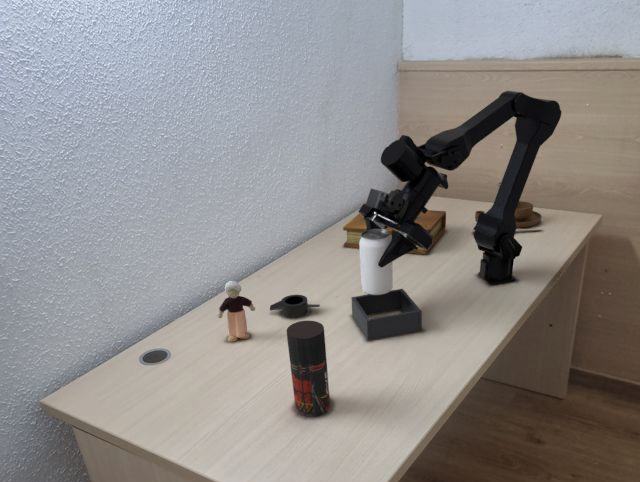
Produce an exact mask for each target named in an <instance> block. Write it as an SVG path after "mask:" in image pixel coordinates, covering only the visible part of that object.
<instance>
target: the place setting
mask: <svg viewBox="0 0 640 482" xmlns="http://www.w3.org/2000/svg"><path fill="white" fill-rule="evenodd" d="M481 212H483V213H486V212H485V211H484V210H476V211H475V212H474V220H475V222H476V223H477V220H478V216H479V214H480V213H481ZM541 220H542V214H541V213H539V212H538V211H535V210H534V204H533V203H532V202H529V201H524V200H523V201H522V200H519V203H518V205H517V208H516V210H515V221H516V228H518V229H519V228H520V229H521V228H529V227H534V226H535V225H537V224H539V223H540V222H541ZM541 231H542V230H541V229H529V230H516V231H515V234H516V233H519V232H522V233H523V232H541ZM474 232H475V230H474V231H473V232H472V234H474Z"/></svg>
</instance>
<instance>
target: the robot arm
mask: <svg viewBox="0 0 640 482" xmlns="http://www.w3.org/2000/svg"><path fill="white" fill-rule="evenodd" d="M561 117H562V110H561V106H560V104H559V102H558V101H557V100H553V99H547V98H546V99H545V98H539V97H532V96H530V95H528V94H525V93H524V92H522V91H513V90H506V91H503V92H502V93H500V94H499V96H498V97H497V98H496V99H495V100H493V101H492V102H490V103H489V104H487V105H486V106H485V107H483V108H482V109H481V110H480V111H478V112H477V113H476V114H474V115H473V116H471V117H469V119H467V120H466V121H464V122H463V123H461V124H460V125H459V126H457V127H454V128H450V129H446V130H444V131H440V132H439V133H437V134H435V135H433V136H430V137H429V138H428V139H427V140H426V142H425V143H423V144H420V145H416V143H415V142H414V140H413V139H412V138H411V136H409V135H406V134H402V135H401V136H400V137H399V138H398V139H396V140H394V141H392V142H391V143H390V144H389V145H388V146H386V147H385V148H384V149H383V151H382V152H381V155H380V163H381V164H382V166H383V167H384V168H386V169H387V170H388V171H389V172H390V173H391V174H392V175H393V176H394V177H395V178H396V179H397V180H398V181H400V182H401V183H405V184H404V185H403V186H402V188H401V189H398V188H396V189H394V190H390V192H386V191H382V190H379V189H375V188H370V190H369V192H368V195H367V199H366V202H365V203H363V204H362V205H361V207H360V208H359V210H358V214H359V213H360V214H361V215H362V216H364V220H365V222H366V227H367V230H371V229H383V230H384V229H386V228H388V227H389V228H392V229H394V230H392V240H391V242H390V244H389V245H388V247H387V249H386V250H385V252H384V254H383V255H382V257H381V259H380V261H379V263H378V266H380V267H381V268H382V267H384V266H386V265H387V264H389V263H391V262H392V263H393V262H394V261H396V260H397V259H399V258H401V257H403V256H404V255H407V254H410V253H409V252H410V251H412V250H417V249H418V248H417V247H416V246H417V245H418V246H419V247H420V248H423V249H425V250H428V249H429V247H430V246H431V244H432V243H433V236H432V235H431V234H430V233H429V232H428V231H426V230H425V229H424V228H423V227H422V226H421V225H420V224H418V223H415V220H416V219H417V217H418V216H419V214H420V213H423V214H425V213H426V212H427V210H428V208H426V205H427V204H428V203H429V201H430V199H431V198H432V197H433V195H434V193H436V191H437V189H438V188H442V189H445V190H448V189H449V182H448V174H446V173H442V172H439V171H438V170H437V169H436V168H438V169H443V170H446V171H451V172H452V171H455V170H457V169H458V168H459V167H460V166H461V165H462V164H463V163H465V161H466V160H467V159H468V158H469V157H470V155H471V152H472V150H473V148H474V147H475V146H476V145H477V144H478V143H480V142H482V140H484V139H486V138H487V137H488V136H490V135H491V134H492V133H493V132H495V131H496V130H498V129H499V128H500V127H502V126H503V125H504V124H506V123H507V122H508V121H510V120H511V119H513V118H515V123H514V131H515V137H516V141H515V143H514V146H513V149H512V152H511V154H510V158H509V160H508V162H507V166H506V168H505V171H504V174H503V177H502V179H501V183H500V184H499V187H498V191H497V193H496V196H495V198H494V201H493V204H492V206H491V208H489V209H488V210H487V211H486V212H485V213H483V212H481V213H480V214H479V216H478V220H477V222H476V223H475V225H474V227H473V230H474V231H475V232H474V231H473V232H474V233H473V239H474V241H475V243H476V245H477V249H478V251H481V252H482V258H481V259H480V265H479V272H478V273H477V275H478V276H479V277H480V278H481V279H483V281H485V282H486V283H487V284H488V285H491V286H492V285H497V284H503V283H509V282H514V281H516V277H515V276H514V275H513V272H514V260H516V258H517V257H520V255H521V253H522V250H523V246H522V245H521V243H520V242H518V241H517V239H516V238H515V234H516V233H515V231H517V227H516V221H515V210H516V208H517V205H518V203H519V201H521V197H522V194H523V192H524V189H525V187H526V184H527V181H528V179H529V176H530V174H531V171H532V168H533V166H534V163H535V160H536V158H537V156H538V153H539V150H540V148H541V147H542V145H543V144H545V143H546V142H547V140H549V139H550V138H551V137H552V135H553V134H554V133H555V130H556V128H557V126H558V124H559V122H560V121H561ZM426 164H428V165H429V166H427V165H426ZM435 167H436V168H435ZM399 226H400V227H399ZM367 230H366V231H367ZM395 230H396V231H395ZM397 231H398V232H397Z"/></svg>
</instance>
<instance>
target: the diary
mask: <svg viewBox="0 0 640 482" xmlns="http://www.w3.org/2000/svg"><path fill="white" fill-rule="evenodd" d="M415 223H418V224H420V225H421V226H422V227H423V228H424V229H425V230H426V231H428V232H429V233H430V234H431V235H432V236H433V243H432V244H431V246H430V247H429V249H428V250H425V249H423V248H420V247H419V246H418V245H417V246H416V247H417V248H418V249H417V250H412V251H410V252H409V253H408V254H418V255H419V254H420V255H427V254H428V253H429V251H430V250H431V249H432V247H434V245H435V244H436V243H437V242H438V240H439V239H440V238H441V236H442V235H443V234H444V233H445V231H446V227H447V211H445V210H432V209H431V210H429V209H427V212H426V213H425V214H423V213H420V214H419V216H418V217H417V219H416V220H415ZM399 227H400V226H399ZM342 230H343V231H346V241H345V242H344V243H343V247H344V248H354V249H360V248H359V242H360V239H361V234H362V233H363V232H364V231H366V230H367V227H366V222H365V220H364V216H362V215H361V214H360V213H359V212H358V214H357V215H356V216H355V217H353V218H352V219H350V221H348V223H346V224H345V225H344V226H343V227H342ZM384 230H387V231H388V232H389V236H390V238H391V240H392V230H394V229H392V228H389V227H388V228H386V229H384ZM395 231H396V230H395ZM397 232H398V231H397Z"/></svg>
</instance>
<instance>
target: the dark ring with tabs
mask: <svg viewBox="0 0 640 482" xmlns="http://www.w3.org/2000/svg"><path fill="white" fill-rule="evenodd" d="M320 306H321V304H312V303H311V304H310V303H309V301H308V297H307V296H305V295H302V294H290V295H287V296H285V297H283V298H281V300H279V301H277V302H275V303H273V304H270V305H269V311H270V312H271V311H281V313H282V316H283V317H285V318H287V319H299V318H303V317H305V316H307V315H308V313H309V308H320Z"/></svg>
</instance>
